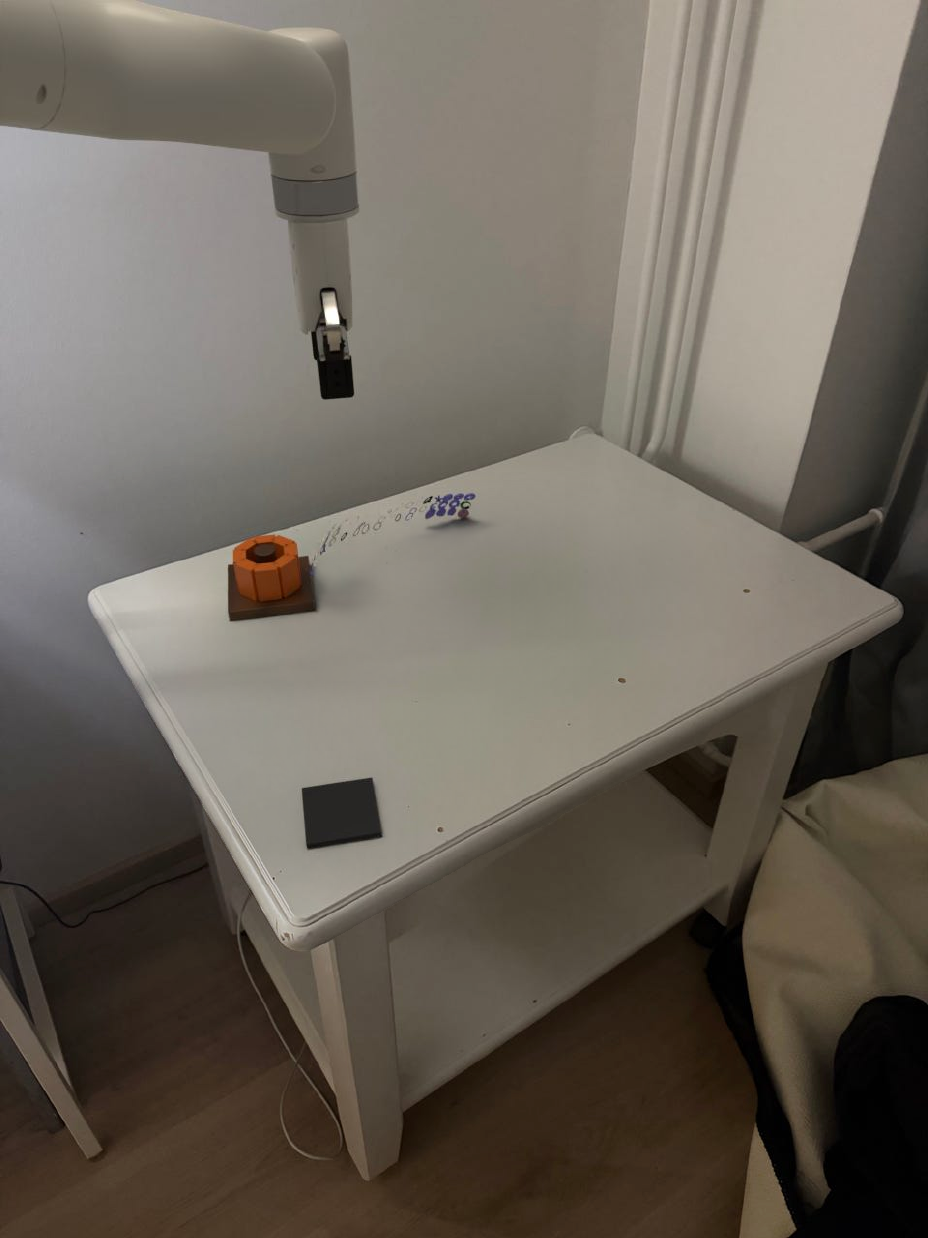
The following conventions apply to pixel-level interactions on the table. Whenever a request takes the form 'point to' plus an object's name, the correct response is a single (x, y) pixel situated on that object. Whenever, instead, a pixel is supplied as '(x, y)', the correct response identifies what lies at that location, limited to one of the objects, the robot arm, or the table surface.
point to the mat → (340, 813)
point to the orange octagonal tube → (267, 569)
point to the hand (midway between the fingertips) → (333, 377)
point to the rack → (249, 608)
